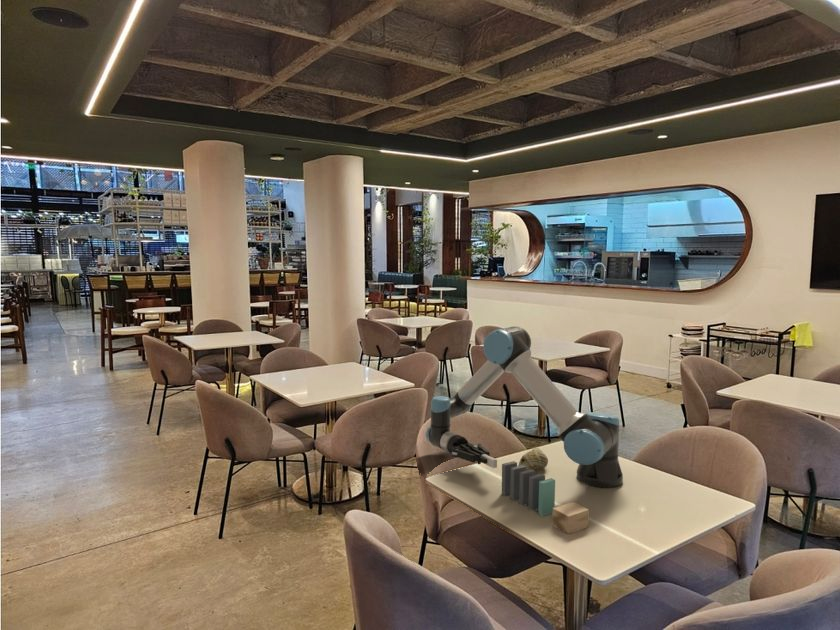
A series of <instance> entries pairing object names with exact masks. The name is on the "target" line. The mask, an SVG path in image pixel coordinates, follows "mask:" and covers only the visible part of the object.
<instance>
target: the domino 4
mask: <svg viewBox="0 0 840 630" xmlns="http://www.w3.org/2000/svg"><path fill="white" fill-rule="evenodd" d="M543 480H546V475H545V474H543V473H539V474H535V475H534V476H531V477H529V504H528V510H530V511H532V512H533V511H536V509H537V510H538V509H539V481H543Z"/></svg>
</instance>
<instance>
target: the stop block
mask: <svg viewBox="0 0 840 630" xmlns="http://www.w3.org/2000/svg"><path fill="white" fill-rule="evenodd" d="M589 513H590V512H589V509H588V508H586V507H584V506H582V505H580V504H578V503H576V502H573V501H571V502H568V503H564V504H561V505H558V506H556V507H555V508H553V513H551V515H552V516H551V517H552V521H551V522H552V523H551V525H552V526H553V527H555V528H557V529H559V530H560V531H562V532H564V533H566V534H568V535H569V534H572V533H574V532H578V531H580V530H583V529H586V528H589V517H590V515H589Z"/></svg>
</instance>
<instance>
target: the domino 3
mask: <svg viewBox="0 0 840 630" xmlns="http://www.w3.org/2000/svg"><path fill="white" fill-rule="evenodd" d="M534 475H536V470H535V469H534V470H532V469H531V470H527V471H523V472H520V487H519V499H518V501H519V502H518V503H519V505H521V506H525V505H529V477H531V476H534Z"/></svg>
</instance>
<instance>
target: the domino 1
mask: <svg viewBox="0 0 840 630" xmlns="http://www.w3.org/2000/svg"><path fill="white" fill-rule="evenodd" d="M517 466H518V462H516V460H513V461H510V462H509V461H508V462H505V463H501V495H503V496H505V495H506V496H510V479H511V468H513V467H517Z"/></svg>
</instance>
